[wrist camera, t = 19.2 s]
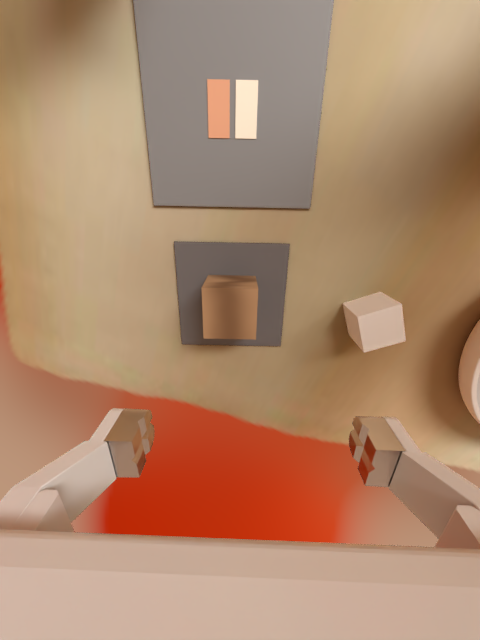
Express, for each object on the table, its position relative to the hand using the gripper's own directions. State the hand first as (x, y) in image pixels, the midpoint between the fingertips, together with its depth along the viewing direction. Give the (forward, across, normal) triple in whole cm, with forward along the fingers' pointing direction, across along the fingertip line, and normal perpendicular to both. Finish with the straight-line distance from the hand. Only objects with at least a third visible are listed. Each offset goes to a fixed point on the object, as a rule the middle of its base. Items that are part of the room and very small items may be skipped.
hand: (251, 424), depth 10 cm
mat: (+25, +2, +3) cm, 25 cm away
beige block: (+25, -16, +5) cm, 30 cm away
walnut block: (+24, +2, +3) cm, 25 cm away
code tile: (+25, +2, -17) cm, 30 cm away
